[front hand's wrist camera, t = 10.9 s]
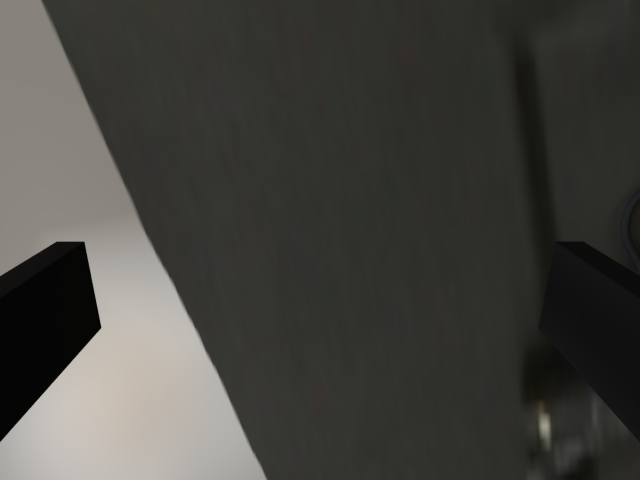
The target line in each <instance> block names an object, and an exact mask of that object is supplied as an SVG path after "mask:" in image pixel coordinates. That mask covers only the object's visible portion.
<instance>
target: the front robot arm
mask: <svg viewBox="0 0 640 480" xmlns="http://www.w3.org/2000/svg"><path fill="white" fill-rule="evenodd" d="M639 201H640V190H639V191H638V192H637V193H636V194H635V195H634V196H633V197H632V199H631V200H630V201H629V203H628V204H627V206H626V208H625V210H624V213H623V216H622V221H621V235H622V239H623V242H624V244H625V246H626V248H627V250H628V252H629V254H630V255H631V257H632V259H633V261H634V262H635V264H636V266H637V269H638V271H639V274H640V256H639V254H638V252H637V251H636V249H635V247H634V245H633V243H632V240H631V238H630V233H629V223H630V218H631V215H632V212H633V210H634V208H635V206H636V205H637V203H638V202H639ZM100 329H101V323H100V319H99V313H98V308H97V303H96V298H95V293H94V288H93V283H92V278H91V273H90V268H89V263H88V258H87V253H86V248H85V243H84V242H55V243H54V244H52V245H51V246H49V247H47V248H46V249H44V250H42V251H41V252H39V253H37V254H36V255H34V256H32V257H31V258H29V259H28V260H26V261H24V262H23V263H21V264H19V265H18V266H16V267H15V268H13V269H11V270H10V271H8V272H6V273H5V274H3V275H1V276H0V442H1V440H2V439H3V438H4V437H5V436H6V435H7V434H8V433H9V431H10V430H11V429H12V428H13V427H14V426H15V425H16V424H17V422H18V421H19V420H20V419H21V418H22V417H23V416H24V414H25V413H26V412H27V411H28V410H29V409H30V408H31V407H32V405H33V404H34V403H35V402H36V401H37V400H38V399H39V398H40V396H41V395H42V394H43V393H44V392H45V391H46V390H47V389H48V387H49V386H50V385H51V384H52V383H53V382H54V381H55V380H56V378H57V377H58V376H59V375H60V374H61V373H62V372H63V370H64V369H65V368H66V367H67V366H68V365H69V364H70V363H71V362H72V360H73V359H74V358H75V357H76V356H77V355H78V354H79V352H80V351H81V350H82V349H83V348H84V347H85V346H86V345H87V343H88V342H89V341H90V340H91V339H92V338H93V337H94V336H95V334H96V333H97V332H98V331H99V330H100ZM539 329H540V330H541V331H542V332H543V333H544V334H545V336H546V337H547V338H548V339H549V340H550V341H551V342H552V343H553V345H554V346H555V347H556V348H557V349H558V350H559V351H560V352H561V354H562V355H563V356H564V357H565V358H566V359H567V360H568V362H569V363H570V364H571V365H572V366H573V367H574V368H575V369H576V371H577V372H578V373H579V374H580V375H581V376H582V377H583V378H584V380H585V381H586V382H587V383H588V384H589V385H590V386H591V387H592V389H593V390H594V391H595V392H596V393H597V394H598V395H599V396H600V398H601V399H602V400H603V401H604V402H605V403H606V404H607V406H608V407H609V408H610V409H611V410H612V411H613V412H614V413H615V415H616V416H617V417H618V418H619V419H620V420H621V421H622V422H623V424H624V425H625V426H626V427H627V428H628V429H629V430H630V431H631V433H632V434H633V435H634V436H635V437H636V438H637V439H638V440H639V442H640V276H639V275H637V274H635V273H634V272H632V271H630V270H629V269H627V268H626V267H624V266H622V265H621V264H619V263H617V262H616V261H614V260H612V259H611V258H609V257H608V256H606V255H604V254H603V253H601V252H599V251H598V250H596V249H594V248H593V247H591V246H589V245H588V244H586V243H585V242H556V243H555V248H554V253H553V258H552V263H551V268H550V273H549V278H548V283H547V288H546V293H545V298H544V303H543V308H542V313H541V318H540V323H539Z"/></svg>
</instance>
